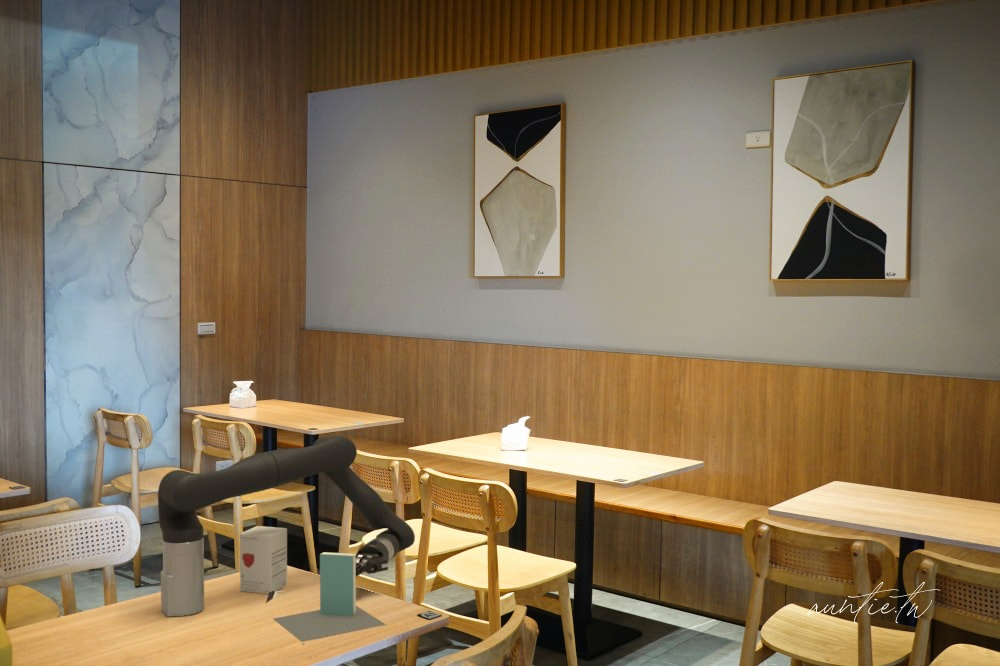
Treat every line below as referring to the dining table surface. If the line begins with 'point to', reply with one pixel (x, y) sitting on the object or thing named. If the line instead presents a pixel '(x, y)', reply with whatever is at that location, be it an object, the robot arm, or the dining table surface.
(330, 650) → the dining table surface
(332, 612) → the tile
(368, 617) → the mat
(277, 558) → the supplement box
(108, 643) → the dining table surface
